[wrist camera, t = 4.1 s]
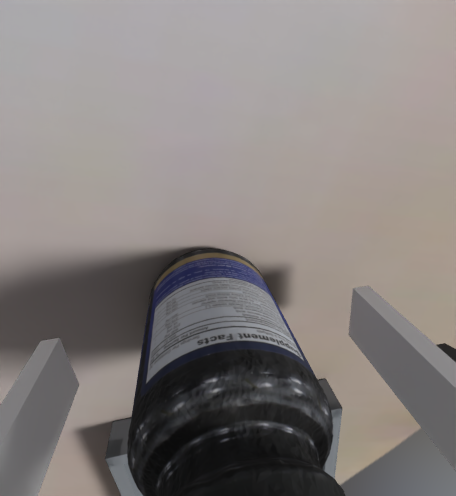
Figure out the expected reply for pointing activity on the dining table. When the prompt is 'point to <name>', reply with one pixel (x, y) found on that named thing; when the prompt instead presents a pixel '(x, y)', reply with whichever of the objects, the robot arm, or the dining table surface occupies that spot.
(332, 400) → the tray
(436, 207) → the dining table surface
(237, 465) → the pill bottle
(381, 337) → the robot arm
